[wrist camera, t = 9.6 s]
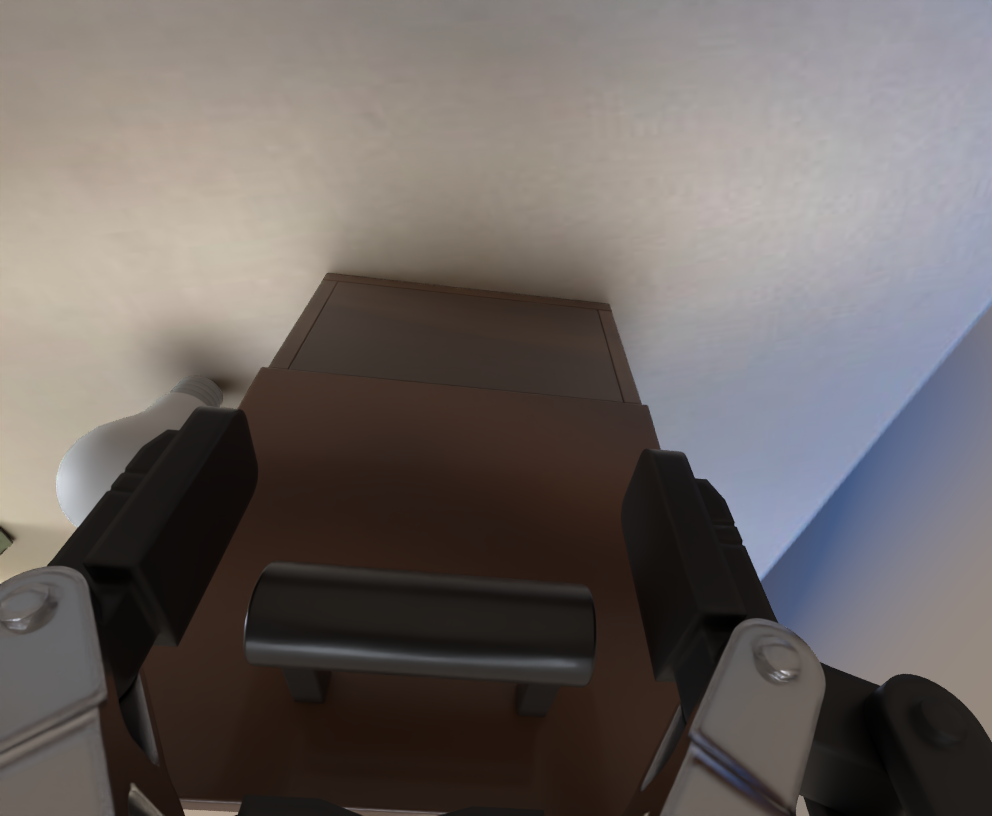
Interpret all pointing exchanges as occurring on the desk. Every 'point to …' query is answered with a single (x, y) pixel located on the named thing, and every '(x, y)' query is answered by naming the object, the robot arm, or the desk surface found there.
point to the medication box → (4, 541)
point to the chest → (460, 339)
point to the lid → (420, 608)
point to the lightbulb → (124, 445)
